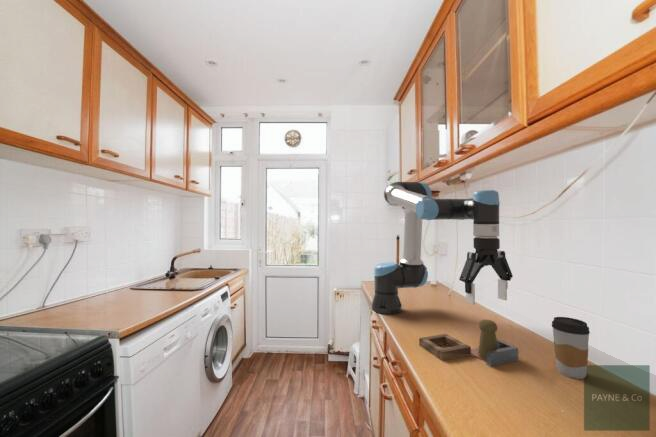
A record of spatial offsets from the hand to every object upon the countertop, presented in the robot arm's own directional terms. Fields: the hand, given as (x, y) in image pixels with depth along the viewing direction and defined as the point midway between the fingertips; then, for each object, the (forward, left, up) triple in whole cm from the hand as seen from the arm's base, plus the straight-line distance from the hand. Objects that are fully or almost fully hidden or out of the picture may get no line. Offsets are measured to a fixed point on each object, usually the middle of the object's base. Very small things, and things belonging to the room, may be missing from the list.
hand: (486, 301), depth 91 cm
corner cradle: (0, 0, -18) cm, 18 cm away
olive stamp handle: (0, 0, -18) cm, 18 cm away
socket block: (-8, -11, -18) cm, 22 cm away
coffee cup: (+16, +13, -18) cm, 27 cm away
